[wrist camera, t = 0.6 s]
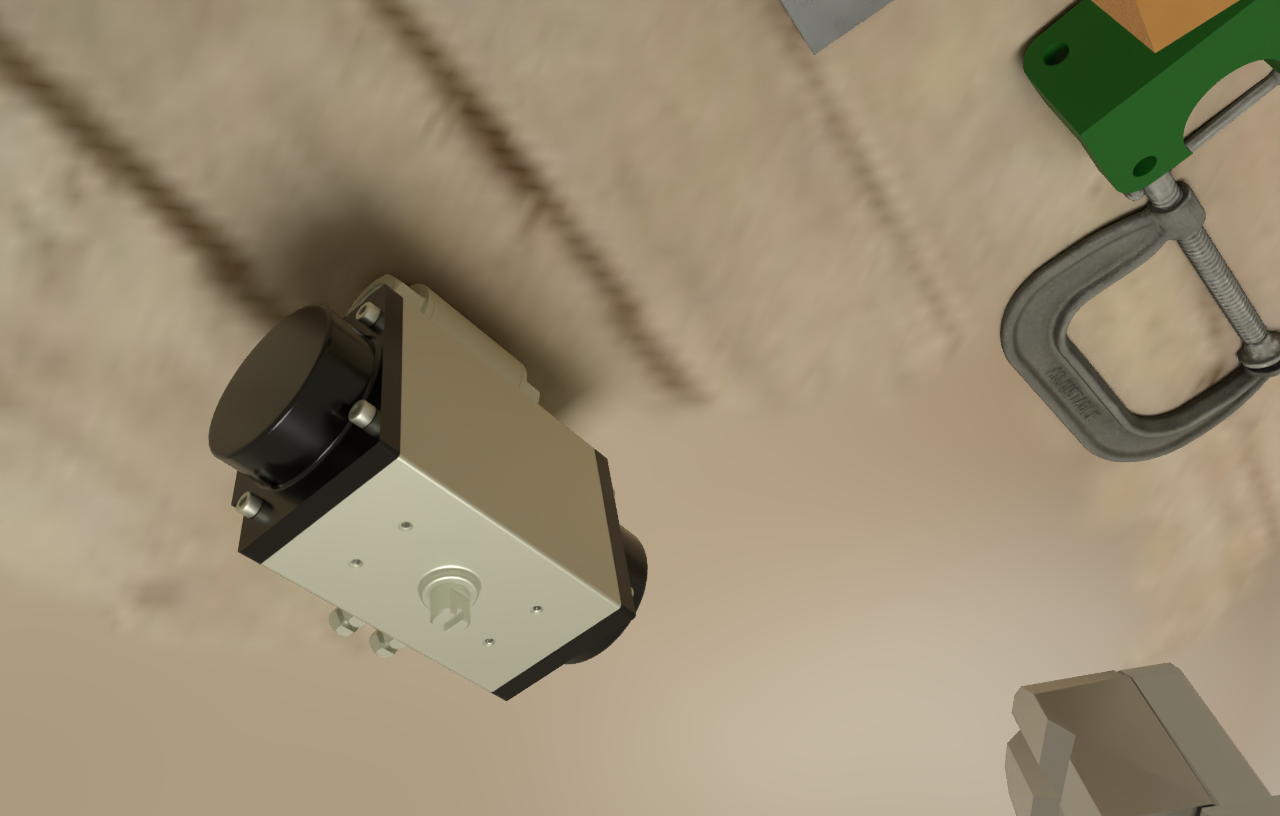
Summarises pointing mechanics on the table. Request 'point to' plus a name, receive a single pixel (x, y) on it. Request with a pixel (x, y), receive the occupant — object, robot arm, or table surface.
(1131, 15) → the ring of rectangular blocks
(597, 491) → the ball valve
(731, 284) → the table surface
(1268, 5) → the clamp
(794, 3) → the base plate
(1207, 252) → the c clamp
